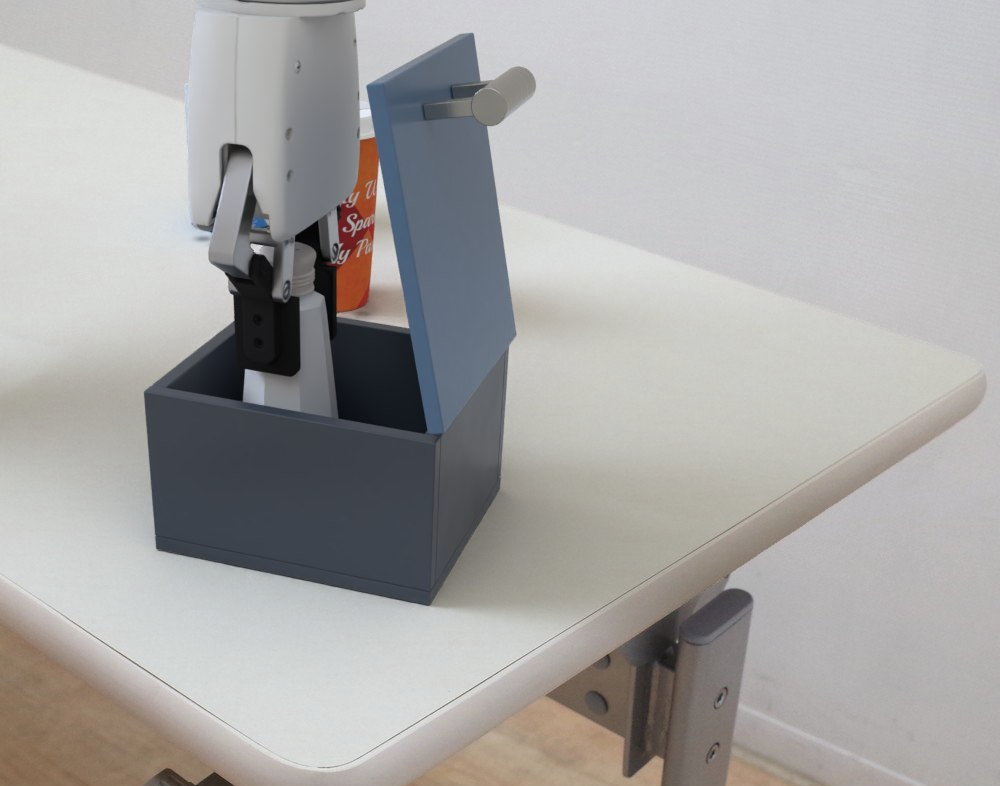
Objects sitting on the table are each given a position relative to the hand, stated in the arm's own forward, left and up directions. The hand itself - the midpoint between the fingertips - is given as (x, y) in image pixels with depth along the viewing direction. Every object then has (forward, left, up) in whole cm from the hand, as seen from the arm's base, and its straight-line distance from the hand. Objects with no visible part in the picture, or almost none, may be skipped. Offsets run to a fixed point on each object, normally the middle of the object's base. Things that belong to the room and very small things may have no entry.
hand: (287, 349), depth 68 cm
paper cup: (-22, +23, -9) cm, 33 cm away
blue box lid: (+7, +3, +7) cm, 11 cm away
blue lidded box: (+2, +1, -9) cm, 10 cm away
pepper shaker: (0, 0, -6) cm, 6 cm away
